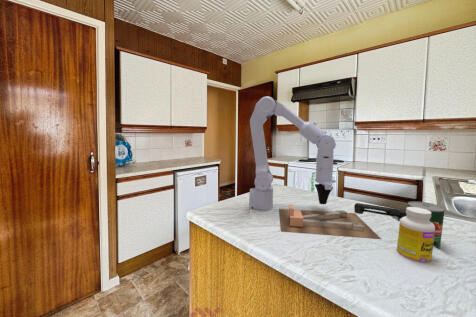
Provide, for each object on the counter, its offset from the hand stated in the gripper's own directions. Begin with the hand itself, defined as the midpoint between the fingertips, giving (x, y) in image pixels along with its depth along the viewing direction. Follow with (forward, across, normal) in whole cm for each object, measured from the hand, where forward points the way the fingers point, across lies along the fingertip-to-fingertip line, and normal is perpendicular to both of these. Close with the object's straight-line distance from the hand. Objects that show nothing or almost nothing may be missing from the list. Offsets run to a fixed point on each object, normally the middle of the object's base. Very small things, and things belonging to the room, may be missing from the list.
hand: (322, 203), depth 81 cm
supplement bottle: (+5, -26, -16) cm, 31 cm away
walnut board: (+5, -9, +2) cm, 10 cm away
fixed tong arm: (+3, -13, +2) cm, 14 cm away
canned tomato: (+5, -16, -24) cm, 29 cm away
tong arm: (+3, -6, +1) cm, 7 cm away
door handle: (+6, +2, -22) cm, 23 cm away
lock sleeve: (+3, -12, +11) cm, 16 cm away
